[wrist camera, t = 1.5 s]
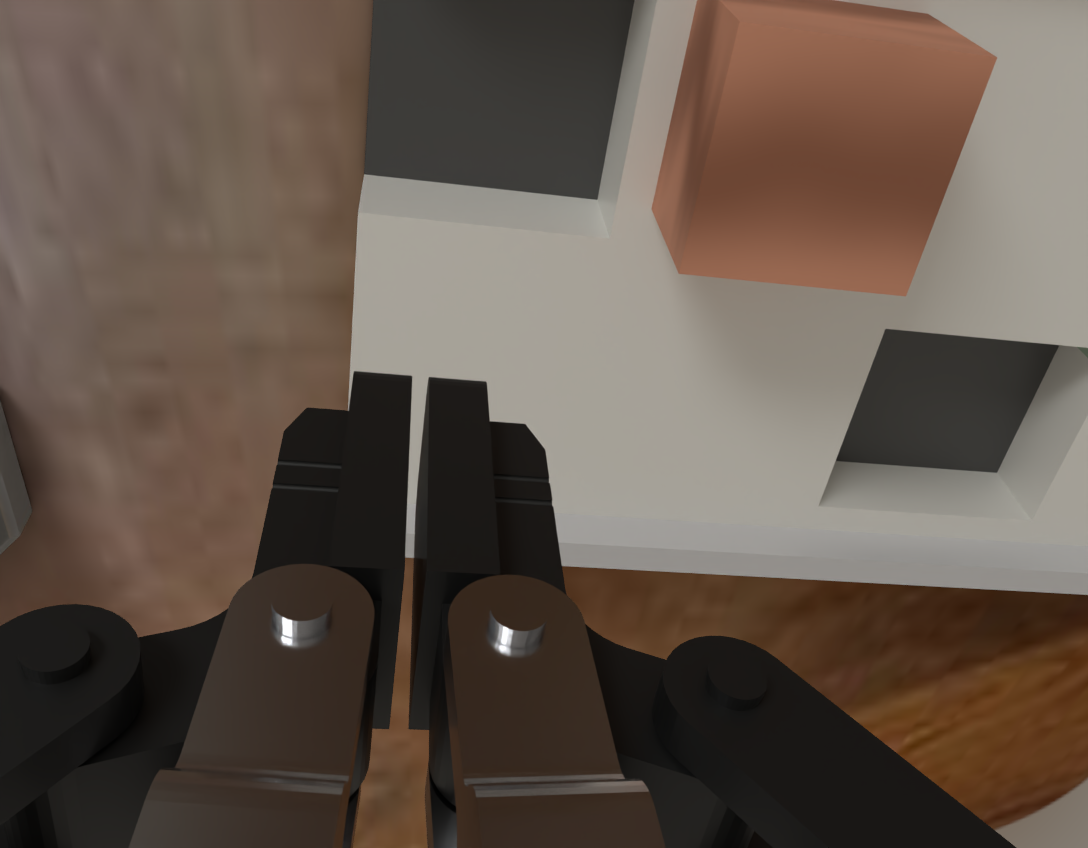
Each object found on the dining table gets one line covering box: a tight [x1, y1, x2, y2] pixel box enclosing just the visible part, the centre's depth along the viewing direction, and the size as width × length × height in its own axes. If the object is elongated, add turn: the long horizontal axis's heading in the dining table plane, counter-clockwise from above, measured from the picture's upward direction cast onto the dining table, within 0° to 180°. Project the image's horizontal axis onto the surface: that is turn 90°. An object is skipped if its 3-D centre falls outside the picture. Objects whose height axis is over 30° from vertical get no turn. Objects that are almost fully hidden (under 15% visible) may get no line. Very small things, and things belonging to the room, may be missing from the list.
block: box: [652, 0, 997, 296], centre depth 26 cm, size 6×6×4 cm
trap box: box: [348, 0, 1088, 595], centre depth 31 cm, size 22×34×6 cm, turn 82°
